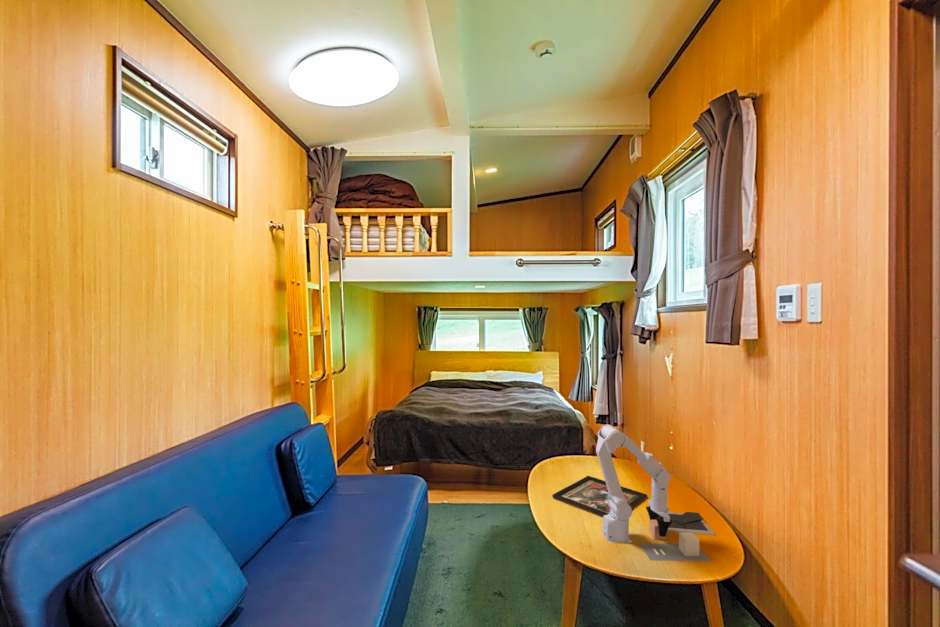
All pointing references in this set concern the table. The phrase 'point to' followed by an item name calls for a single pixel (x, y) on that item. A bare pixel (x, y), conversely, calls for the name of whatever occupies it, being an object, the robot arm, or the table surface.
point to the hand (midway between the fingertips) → (658, 530)
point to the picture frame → (688, 523)
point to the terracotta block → (655, 530)
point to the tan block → (689, 544)
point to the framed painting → (594, 496)
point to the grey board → (669, 553)
